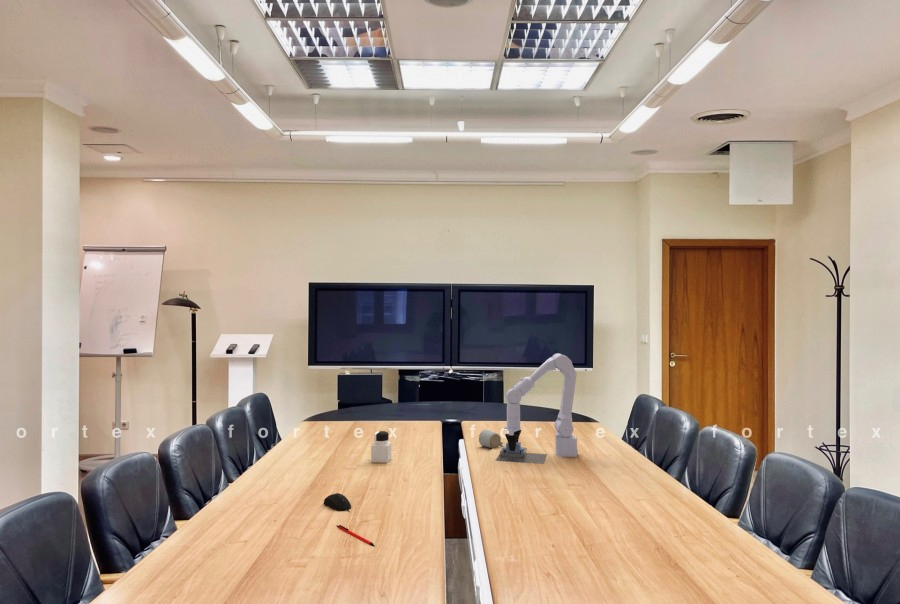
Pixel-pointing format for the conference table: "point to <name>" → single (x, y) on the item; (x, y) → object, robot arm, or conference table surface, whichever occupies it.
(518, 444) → the servo
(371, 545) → the pen
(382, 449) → the medicine bottle
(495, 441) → the ceramic mug
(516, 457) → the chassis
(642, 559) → the conference table surface
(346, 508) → the gaming mouse
